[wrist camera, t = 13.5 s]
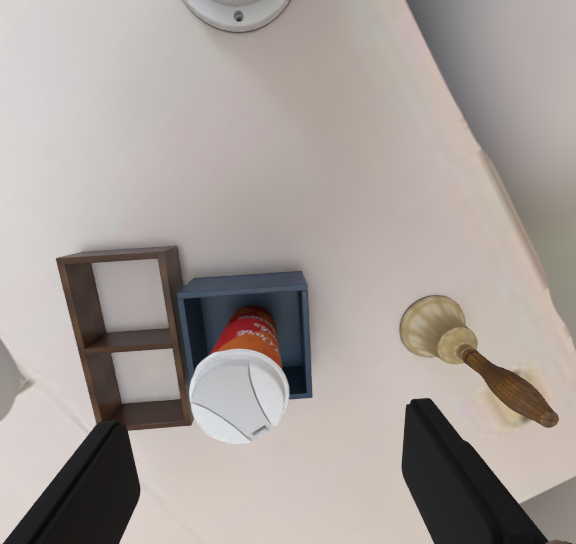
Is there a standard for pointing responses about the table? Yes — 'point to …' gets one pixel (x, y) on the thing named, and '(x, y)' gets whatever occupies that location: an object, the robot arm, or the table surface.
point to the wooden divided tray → (125, 338)
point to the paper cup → (241, 380)
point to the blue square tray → (245, 292)
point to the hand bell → (468, 354)
